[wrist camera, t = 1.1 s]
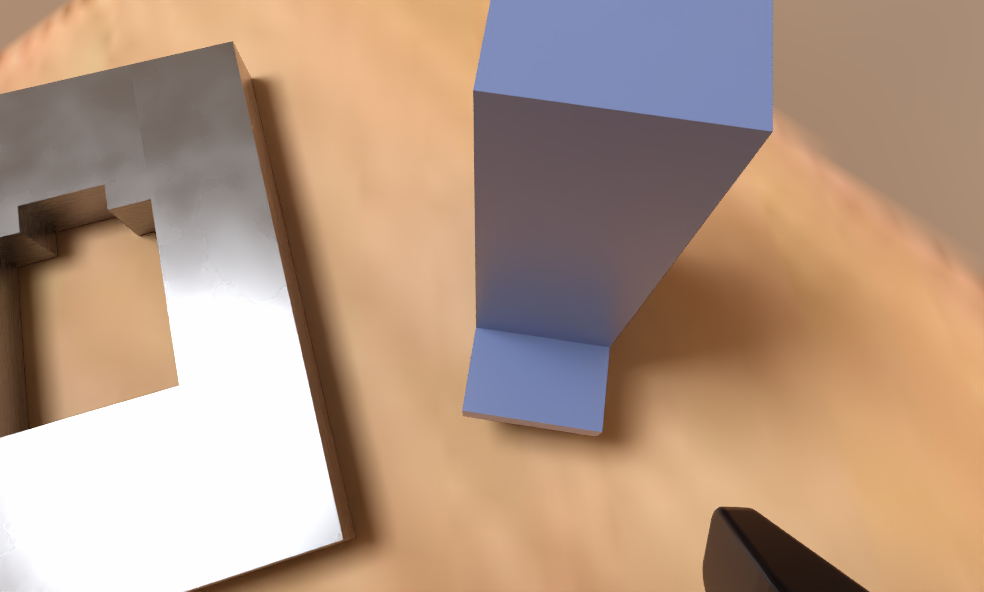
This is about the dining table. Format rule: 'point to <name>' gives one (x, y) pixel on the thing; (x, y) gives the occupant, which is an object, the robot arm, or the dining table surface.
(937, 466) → the dining table surface
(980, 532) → the dining table surface
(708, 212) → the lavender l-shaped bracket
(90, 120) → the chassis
